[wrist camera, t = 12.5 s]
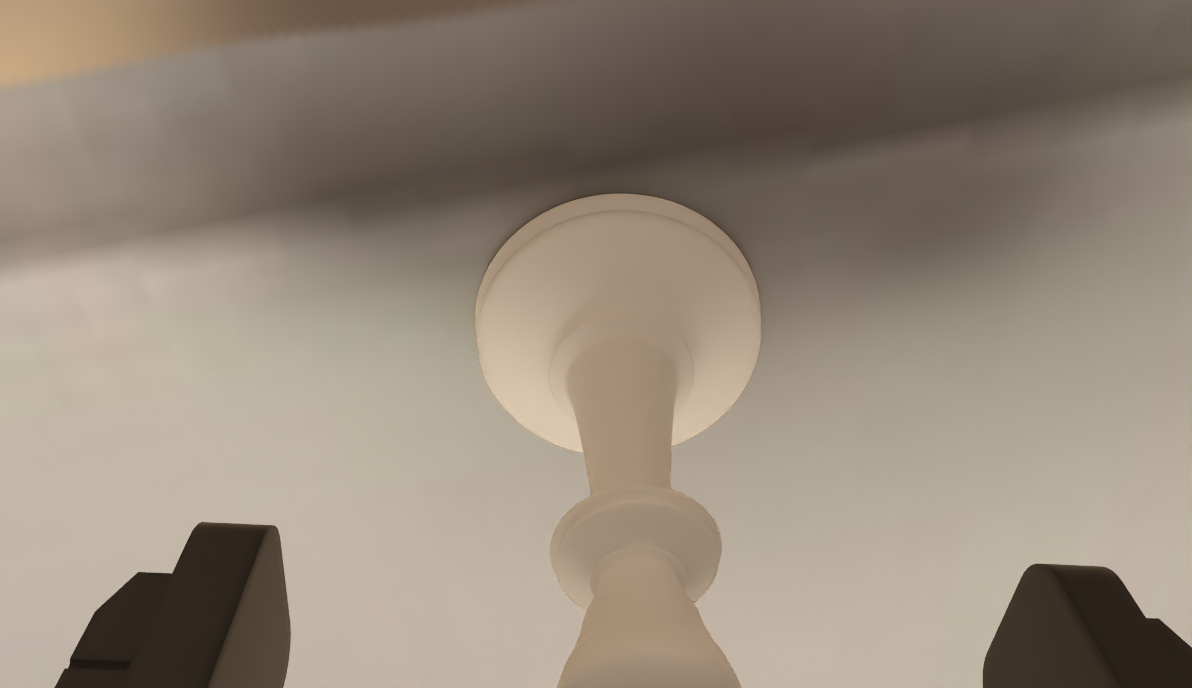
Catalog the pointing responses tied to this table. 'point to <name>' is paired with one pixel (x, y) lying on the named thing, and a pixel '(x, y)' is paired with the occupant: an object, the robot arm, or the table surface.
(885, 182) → the table surface
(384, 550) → the table surface
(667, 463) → the chess piece
